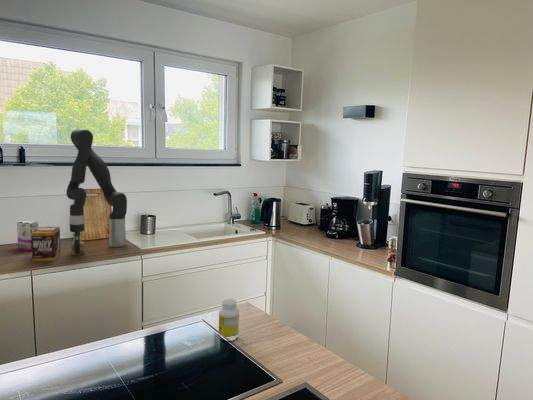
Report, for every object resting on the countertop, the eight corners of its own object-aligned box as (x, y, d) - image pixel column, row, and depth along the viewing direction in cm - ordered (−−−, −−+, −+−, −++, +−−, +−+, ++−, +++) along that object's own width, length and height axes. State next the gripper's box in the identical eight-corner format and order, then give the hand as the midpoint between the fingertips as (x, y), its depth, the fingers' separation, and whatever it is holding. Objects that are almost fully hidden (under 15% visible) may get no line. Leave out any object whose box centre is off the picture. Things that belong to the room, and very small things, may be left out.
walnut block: (83, 251, 229) (83, 241, 228) (83, 254, 223) (83, 243, 222) (72, 252, 226) (71, 242, 225) (71, 255, 221) (71, 244, 220)
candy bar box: (39, 249, 229) (38, 221, 227) (31, 251, 224) (30, 223, 222) (25, 247, 233) (24, 219, 231) (17, 249, 228) (16, 221, 226)
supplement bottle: (219, 333, 137) (220, 297, 135) (238, 333, 137) (239, 298, 135) (217, 342, 130) (218, 305, 128) (238, 343, 130) (239, 305, 129)
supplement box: (32, 261, 206) (30, 232, 204) (40, 253, 221) (39, 226, 219) (54, 261, 209) (53, 232, 207) (60, 253, 224) (60, 226, 222)
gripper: (84, 225, 217) (84, 254, 220) (84, 220, 230) (84, 248, 233) (69, 225, 214) (69, 255, 217) (70, 220, 227) (70, 249, 230)
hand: (77, 251), depth 225 cm, fingers closed on walnut block, 6 cm apart
